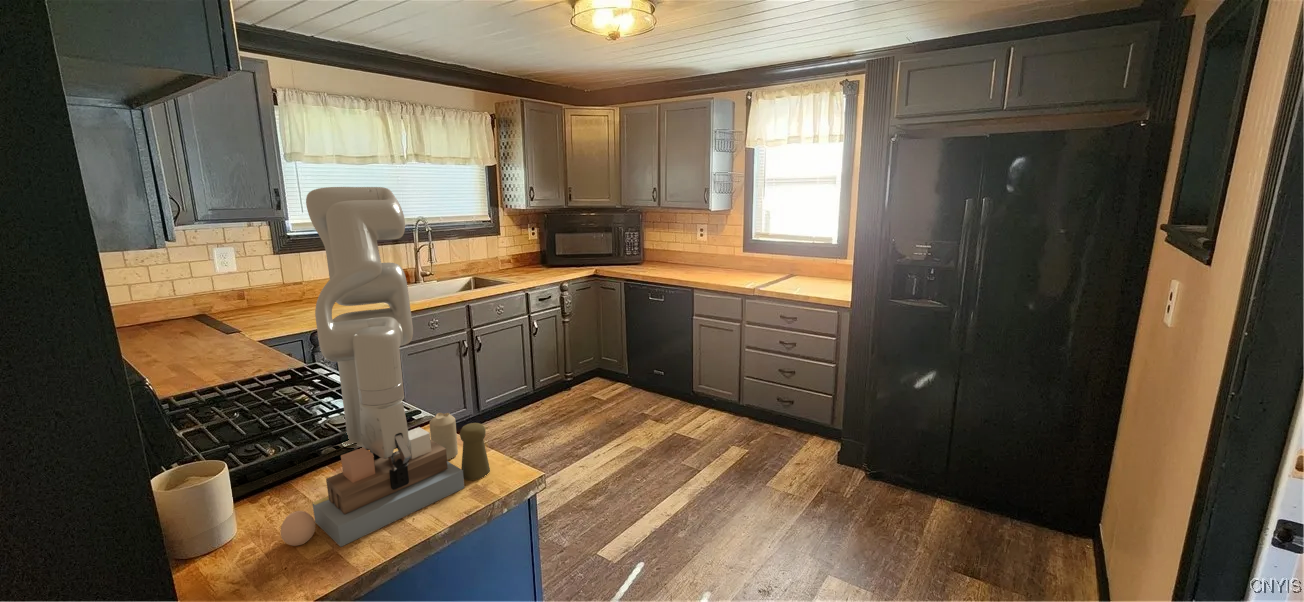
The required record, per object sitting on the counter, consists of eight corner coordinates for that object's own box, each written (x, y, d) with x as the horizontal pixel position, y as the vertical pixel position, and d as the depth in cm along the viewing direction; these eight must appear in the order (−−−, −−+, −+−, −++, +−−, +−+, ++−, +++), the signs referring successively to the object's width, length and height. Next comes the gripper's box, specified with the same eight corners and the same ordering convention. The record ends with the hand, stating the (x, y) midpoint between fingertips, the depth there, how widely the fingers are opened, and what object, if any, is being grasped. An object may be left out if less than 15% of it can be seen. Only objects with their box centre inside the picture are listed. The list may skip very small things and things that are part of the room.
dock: (315, 522, 102) (312, 502, 101) (435, 470, 120) (434, 453, 119) (340, 546, 95) (337, 526, 94) (464, 487, 113) (462, 470, 112)
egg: (310, 530, 100) (306, 500, 98) (322, 541, 96) (317, 511, 95) (278, 544, 96) (273, 513, 94) (289, 556, 93) (284, 525, 91)
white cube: (401, 452, 110) (400, 434, 109) (420, 445, 113) (419, 427, 112) (412, 459, 107) (410, 440, 106) (431, 451, 110) (429, 432, 109)
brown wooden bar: (329, 500, 101) (326, 478, 100) (430, 458, 116) (429, 438, 115) (344, 514, 97) (341, 491, 96) (447, 468, 112) (446, 448, 111)
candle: (428, 455, 126) (424, 414, 124) (450, 447, 130) (447, 407, 128) (439, 463, 123) (436, 422, 121) (462, 455, 127) (459, 414, 124)
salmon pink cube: (343, 475, 101) (340, 455, 100) (365, 466, 104) (363, 447, 103) (352, 482, 99) (350, 462, 98) (375, 473, 102) (373, 454, 101)
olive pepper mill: (472, 483, 115) (468, 434, 113) (455, 473, 119) (451, 426, 116) (496, 471, 120) (493, 424, 117) (479, 462, 123) (475, 417, 121)
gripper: (340, 387, 105) (350, 472, 109) (383, 411, 94) (393, 505, 98) (379, 376, 111) (388, 458, 115) (425, 398, 100) (432, 487, 104)
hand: (390, 479), depth 106 cm, fingers closed on brown wooden bar, 6 cm apart
